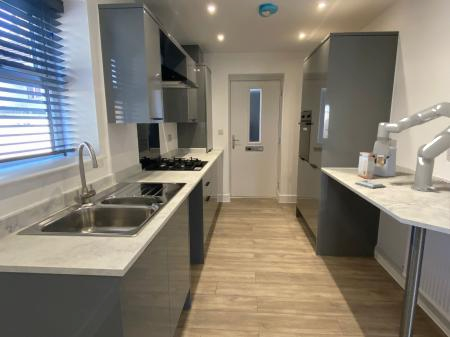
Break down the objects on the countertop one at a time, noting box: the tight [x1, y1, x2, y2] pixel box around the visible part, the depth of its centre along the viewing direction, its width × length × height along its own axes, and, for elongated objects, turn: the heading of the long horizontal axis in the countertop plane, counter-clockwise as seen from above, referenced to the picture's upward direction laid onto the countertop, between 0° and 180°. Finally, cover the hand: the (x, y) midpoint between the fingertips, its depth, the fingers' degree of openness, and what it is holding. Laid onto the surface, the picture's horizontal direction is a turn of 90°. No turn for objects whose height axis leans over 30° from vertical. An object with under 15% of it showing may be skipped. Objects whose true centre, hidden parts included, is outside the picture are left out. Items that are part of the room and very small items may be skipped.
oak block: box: [376, 157, 384, 167], centre depth 191 cm, size 4×9×6 cm, turn 152°
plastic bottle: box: [373, 143, 397, 178], centre depth 226 cm, size 15×15×28 cm
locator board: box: [354, 179, 387, 190], centre depth 191 cm, size 15×13×2 cm
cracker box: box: [357, 151, 375, 180], centre depth 217 cm, size 14×6×21 cm, turn 179°
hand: (379, 164), depth 191 cm, fingers closed on oak block, 4 cm apart
